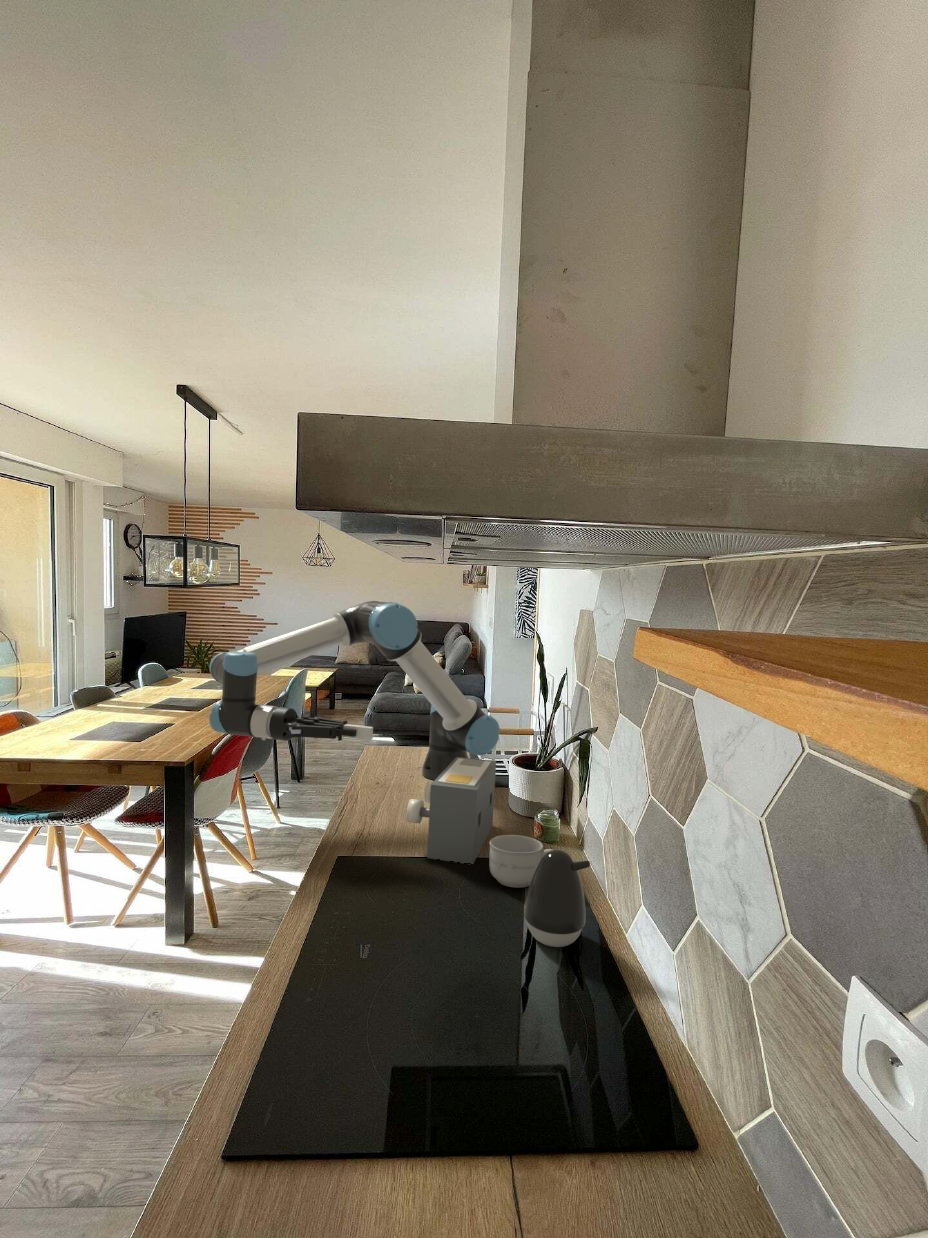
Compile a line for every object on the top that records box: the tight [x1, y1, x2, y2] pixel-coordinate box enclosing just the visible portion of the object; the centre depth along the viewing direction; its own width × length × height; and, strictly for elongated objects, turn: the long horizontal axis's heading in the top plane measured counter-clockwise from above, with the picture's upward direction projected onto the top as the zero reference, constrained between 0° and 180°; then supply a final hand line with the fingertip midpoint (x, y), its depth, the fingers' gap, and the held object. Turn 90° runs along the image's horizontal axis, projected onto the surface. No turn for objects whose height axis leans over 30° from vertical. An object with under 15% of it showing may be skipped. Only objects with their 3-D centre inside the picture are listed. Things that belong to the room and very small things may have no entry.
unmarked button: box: [423, 780, 434, 804], centre depth 158 cm, size 5×8×5 cm, turn 77°
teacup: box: [488, 834, 554, 889], centre depth 130 cm, size 14×11×8 cm
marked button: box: [406, 798, 430, 824], centre depth 144 cm, size 5×8×5 cm, turn 77°
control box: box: [426, 757, 497, 865], centre depth 150 cm, size 24×10×16 cm, turn 167°
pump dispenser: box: [524, 848, 591, 948], centre depth 110 cm, size 10×10×15 cm
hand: (371, 733), depth 146 cm, fingers closed
